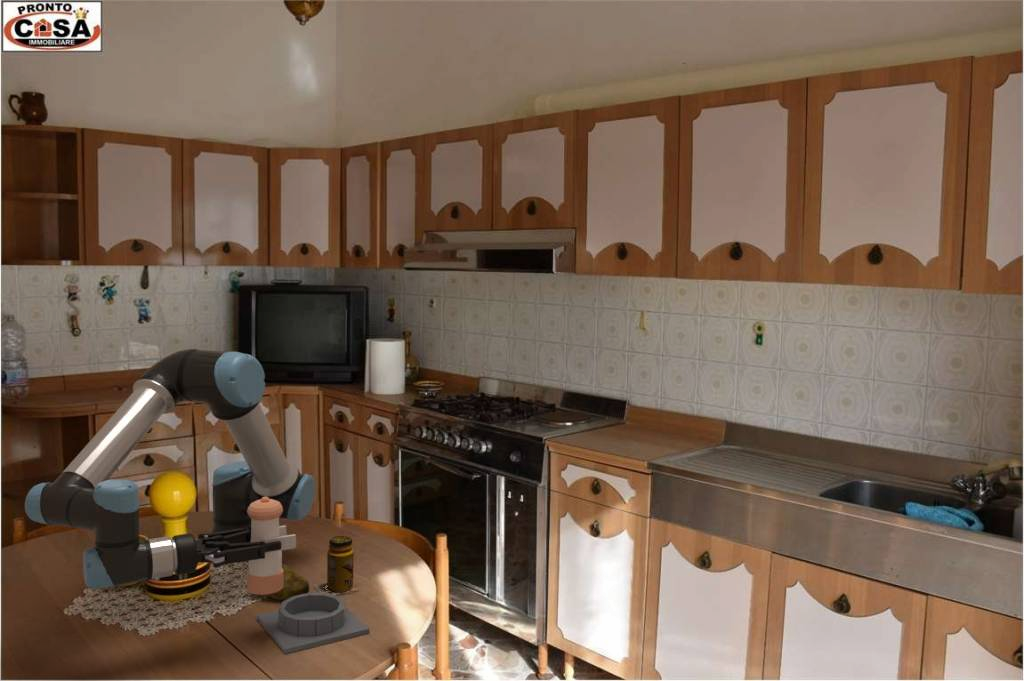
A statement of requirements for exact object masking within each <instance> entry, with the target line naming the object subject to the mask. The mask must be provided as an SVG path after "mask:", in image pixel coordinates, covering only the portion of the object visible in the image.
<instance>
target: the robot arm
mask: <svg viewBox="0 0 1024 681" xmlns="http://www.w3.org/2000/svg"><path fill="white" fill-rule="evenodd" d="M265 376H266V375H265V371H264V368H263V366H262V364H261V363H260V362H259V360H258V359H257V358H256V357H255V356H253V355H251V354H248V353H243V352H239V351H225V350H224V351H223V350H222V351H219V350H209V349H208V350H205V349H197V348H196V349H195V348H189V349H183V350H182V349H181V350H178V351H176V352H173V353H170V354H169V355H167V356H165V357H163V358H162V359H161V360H158V361H157V362H156V363H155V364H153V365H151V367H149V368H148V369H147V370H146V371H145V372H144V373H142V375H141V376H139V378H138V379H137V380H136V381H135V382H134V384H133V386H132V393H131V394H130V395H129V397H128V398H127V399H126V400H125V401H124V402H123V403H122V404H121V405H120V407H119V408H118V409H117V410H116V411H115V412H114V413H113V415H111V417H110V418H109V419H108V420H107V422H106V423H104V424H103V426H102V427H101V428H100V429H99V430H98V431H97V433H95V435H94V436H93V437H92V438H91V440H90V441H89V442H88V443H87V444H86V445H85V446H84V447H83V448H82V450H81V451H80V452H79V453H78V454H77V456H75V457H74V459H72V461H70V463H69V464H68V465H67V467H66V468H65V469H64V470H63V471H62V472H61V474H60V475H59V476H58V477H56V479H55V480H54V481H53V482H49V481H48V482H41V483H38V484H36V485H34V486H33V487H32V488H30V489H29V491H28V493H27V495H26V496H25V499H24V511H25V513H26V515H27V518H29V519H30V520H31V521H33V522H34V523H35V522H36V523H40V524H43V525H48V526H58V527H59V526H60V527H67V528H75V529H79V530H80V529H81V530H86V531H87V530H88V531H94V546H92V547H90V548H86V549H84V551H83V553H82V571H83V574H82V575H83V580H84V584H85V586H86V587H87V588H88V589H91V590H95V589H102V588H104V589H105V588H115V587H119V586H118V585H123V584H129V583H134V582H138V583H140V582H142V581H143V582H144V581H149V580H154V581H160V579H162V578H167V577H171V576H173V574H176V575H177V576H180V575H186V574H191V573H195V572H196V571H197V568H198V565H199V564H200V563H202V564H203V563H206V564H210V563H212V564H213V567H214V568H218V567H222V566H225V565H229V564H237V563H241V562H243V563H244V562H248V561H250V560H256V559H264V558H265V553H270V552H276V551H286V550H287V551H288V550H292V549H297V535H296V534H294V533H293V534H287V525H285V524H284V525H279V537H274V538H268V539H263V541H261V542H251V518H250V517H249V516H248V513H247V509H248V507H249V506H250V504H251V503H252V502H254V501H257V500H260V499H262V497H268V498H269V499H273V500H276V501H278V502H280V503H281V505H282V507H283V512H282V514H281V516H280V517H279V520H285V521H301V520H303V519H304V518H306V516H308V514H309V512H310V511H311V508H312V506H313V503H314V500H315V495H316V481H315V477H314V476H312V475H311V474H308V473H304V474H303V473H301V471H300V470H299V467H298V466H297V465H296V463H295V462H294V461H292V459H288V458H287V457H286V455H285V453H284V451H283V449H282V448H281V445H280V443H279V440H278V439H277V437H276V435H275V433H274V430H273V429H272V427H271V425H270V423H269V421H268V419H267V417H266V415H265V413H264V410H263V409H262V406H261V404H260V403H261V400H262V398H263V397H264V396H263V395H264V393H265V389H266V382H265V379H266V377H265ZM184 402H193V403H202V404H205V405H207V406H208V407H207V408H208V409H209V410H210V413H211V414H212V416H213V417H214V418H216V419H217V420H220V421H223V422H224V423H225V425H226V428H228V431H229V432H230V433H229V434H230V435H231V436H232V438H233V440H234V443H235V444H236V446H237V447H238V449H239V451H240V453H241V455H242V456H243V458H244V461H236V462H231V463H227V464H224V465H221V466H219V467H217V468H216V469H215V470H214V471H213V474H212V484H211V487H212V511H213V512H212V517H213V518H212V526H211V529H210V532H208V533H199V534H198V535H197V540H196V538H195V535H193V534H192V533H191V532H190V533H183V534H176V535H173V536H172V537H170V536H168V535H167V536H161V537H160V536H159V537H154V538H148V540H143V541H139V535H140V505H141V504H140V500H139V491H138V490H139V489H138V484H137V483H136V482H135V481H133V480H131V479H126V478H125V479H124V478H123V479H116V478H115V479H113V478H112V479H110V478H111V477H112V475H113V474H114V473H115V472H116V470H118V468H119V467H120V466H121V465H122V464H123V462H124V461H125V460H126V459H127V458H128V456H129V455H130V454H131V453H132V451H133V450H134V449H135V448H136V446H137V445H138V444H139V443H140V442H141V441H142V440H143V438H144V437H145V436H146V434H148V432H149V431H150V430H151V428H152V427H153V426H154V425H155V424H156V422H157V421H158V420H159V419H160V418H161V417H162V416H163V414H168V413H170V412H171V411H172V410H174V409H175V407H176V406H177V405H178V404H181V403H184ZM139 581H140V582H139Z"/></svg>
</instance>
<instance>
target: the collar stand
mask: <svg viewBox="0 0 1024 681" xmlns="http://www.w3.org/2000/svg"><path fill="white" fill-rule="evenodd" d="M256 620H257V621H259V622H258V623H259V624H260V626H262V627H263V629H264V630H265V632H267V633H268V635H269V636H270V637H271V639H272V640H273V641H274V643H275V644H276V645H277V646H278V647H279V648H280V650H281V651H282V653H283V654H284V655H287V654H291V653H295V652H300V651H304V650H308V649H310V648H311V649H312V648H316V647H320V646H323V645H327V644H331V643H335V642H336V643H337V642H339V641H344V640H347V639H352V638H356V637H360V636H365V635H368V634H370V628H369V627H368V626H367V625H366V624H365V623H364V622H363V621H362V620H361V619H359V618H358V617H357V616H356V615H355V614H354V613H353V612H352V611H351V610H350V609H349V608H348V607H347V606H346V601H345V600H344V599H343V598H341V597H340V596H338V595H332V594H328V593H320V592H308V593H306V594H301V595H297V596H294V597H291V598H289V599H287V600H285V601H283V600H282V601H281V603H280V605H279V608H278V610H274V611H273V610H272V611H269V612H263V613H258V614H256Z"/></svg>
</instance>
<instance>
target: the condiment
mask: <svg viewBox="0 0 1024 681" xmlns="http://www.w3.org/2000/svg"><path fill="white" fill-rule="evenodd" d="M328 543H329V545H328V549H327V556H326V559H327V563H326V565H327V566H326V567H327V568H326V569H327V570H326V571H327V572H326V573H327V574H326V576H327V578H326V583H321V584H314V585H313V586H314V588H315V589H316V590H317V591H318V593H322V592H323V593H324V592H326V591H328V590H329V591H331V592H334V593H345V592H347V591H350V590H351V589H352V588H353V585H354V555H355V554H354V549H353V539H352V538H351V537H350V536H347V535H337V536H333V537H331V538H330V539H329V542H328ZM326 585H327V586H328V587H327V588H326V589H328V590H326V589H325V586H326ZM323 587H324V588H323ZM326 593H327V592H326ZM345 594H349V593H348V592H347V593H345ZM332 595H336V594H332ZM338 595H339V594H337V595H336V596H338Z"/></svg>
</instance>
